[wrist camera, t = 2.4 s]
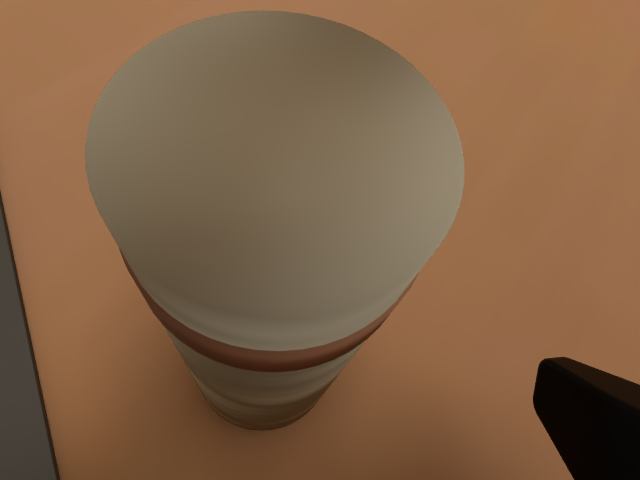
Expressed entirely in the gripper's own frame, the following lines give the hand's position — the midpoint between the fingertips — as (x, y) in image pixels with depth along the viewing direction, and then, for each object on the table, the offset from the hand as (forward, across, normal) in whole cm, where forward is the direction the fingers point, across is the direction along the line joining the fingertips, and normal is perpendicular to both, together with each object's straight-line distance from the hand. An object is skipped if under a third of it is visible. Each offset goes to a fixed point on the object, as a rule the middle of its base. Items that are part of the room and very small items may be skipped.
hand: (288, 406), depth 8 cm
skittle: (+9, 0, +5) cm, 10 cm away
